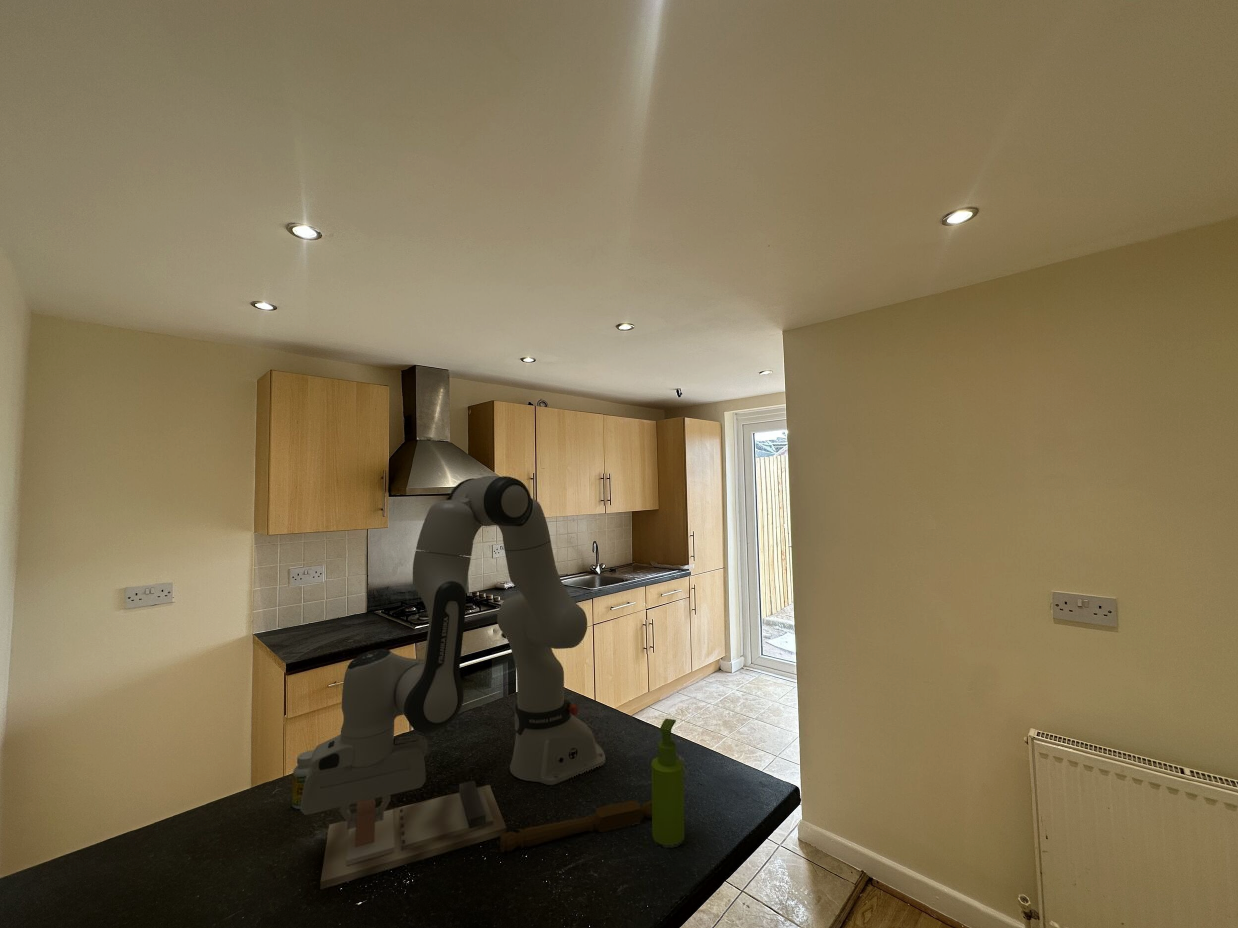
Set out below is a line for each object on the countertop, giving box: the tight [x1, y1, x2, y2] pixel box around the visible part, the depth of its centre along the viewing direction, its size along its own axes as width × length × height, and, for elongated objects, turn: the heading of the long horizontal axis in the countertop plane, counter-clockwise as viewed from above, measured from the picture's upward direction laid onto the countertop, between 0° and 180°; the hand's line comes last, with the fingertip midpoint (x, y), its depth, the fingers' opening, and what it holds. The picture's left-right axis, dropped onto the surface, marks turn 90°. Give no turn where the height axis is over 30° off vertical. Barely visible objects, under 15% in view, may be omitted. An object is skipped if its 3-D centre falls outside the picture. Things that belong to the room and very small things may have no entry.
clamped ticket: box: [319, 780, 507, 890], centre depth 94 cm, size 30×16×4 cm, turn 116°
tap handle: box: [499, 799, 652, 853], centre depth 94 cm, size 3×3×30 cm
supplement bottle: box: [291, 749, 315, 810], centre depth 104 cm, size 5×5×10 cm
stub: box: [346, 798, 395, 866], centre depth 91 cm, size 7×12×6 cm, turn 26°
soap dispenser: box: [650, 718, 685, 845], centre depth 93 cm, size 6×7×20 cm
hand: (365, 823), depth 90 cm, fingers closed on stub, 3 cm apart
